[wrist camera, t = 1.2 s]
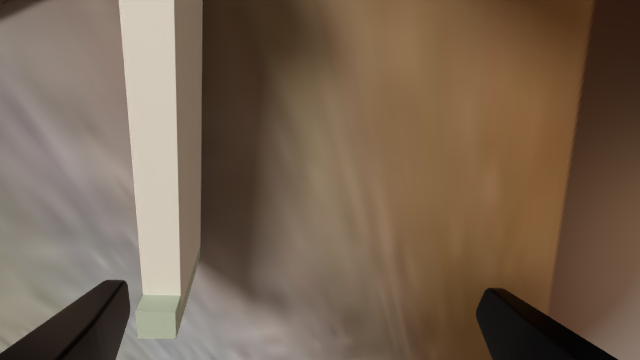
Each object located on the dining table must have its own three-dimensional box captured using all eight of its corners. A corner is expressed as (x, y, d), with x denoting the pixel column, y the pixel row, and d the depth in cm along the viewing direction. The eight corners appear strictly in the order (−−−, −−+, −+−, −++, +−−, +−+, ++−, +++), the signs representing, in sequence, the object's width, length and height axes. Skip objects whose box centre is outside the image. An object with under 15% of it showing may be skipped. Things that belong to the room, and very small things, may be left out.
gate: (161, -75, 14) (92, -128, 9) (203, -66, 14) (161, -113, 9) (172, 253, 21) (137, 338, 15) (200, 254, 21) (176, 338, 16)
